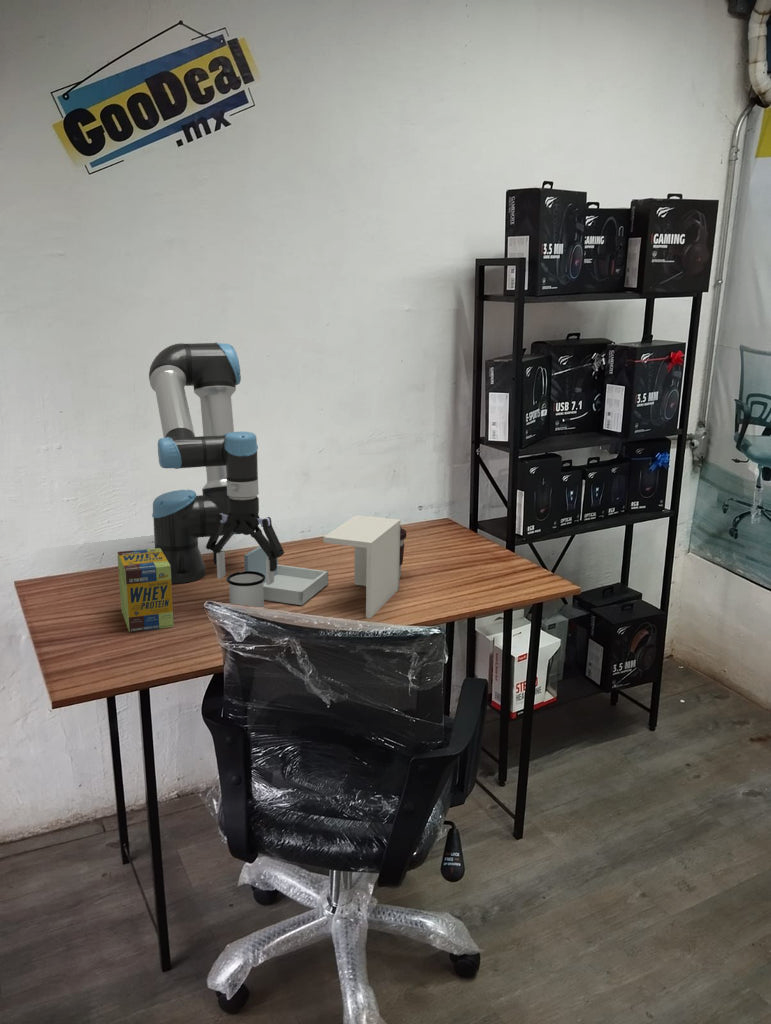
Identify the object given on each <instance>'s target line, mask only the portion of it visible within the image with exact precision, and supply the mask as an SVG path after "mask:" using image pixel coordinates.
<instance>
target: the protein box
mask: <svg viewBox="0 0 771 1024" xmlns="http://www.w3.org/2000/svg"><path fill="white" fill-rule="evenodd" d="M116 554H117V568H118V581H119V595H120V610H121V613H122V615H123V618H124V619H123V620H124V622H125V624H126V627H127V630H128V633H131V634H132V633H138V632H144V631H145V632H146V631H151V630H152V631H153V630H157V629H158V630H159V629H166V628H173V627H174V623H175V622H174V605H173V587H172V582H171V566H170V564H169V562H168V560H167V559H166V557H165V555H164V554H163V552H162V550H161V549H160V548H155V547H154V548H144V549H134V550H123V551H121V550H120V551H117V553H116Z"/></svg>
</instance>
